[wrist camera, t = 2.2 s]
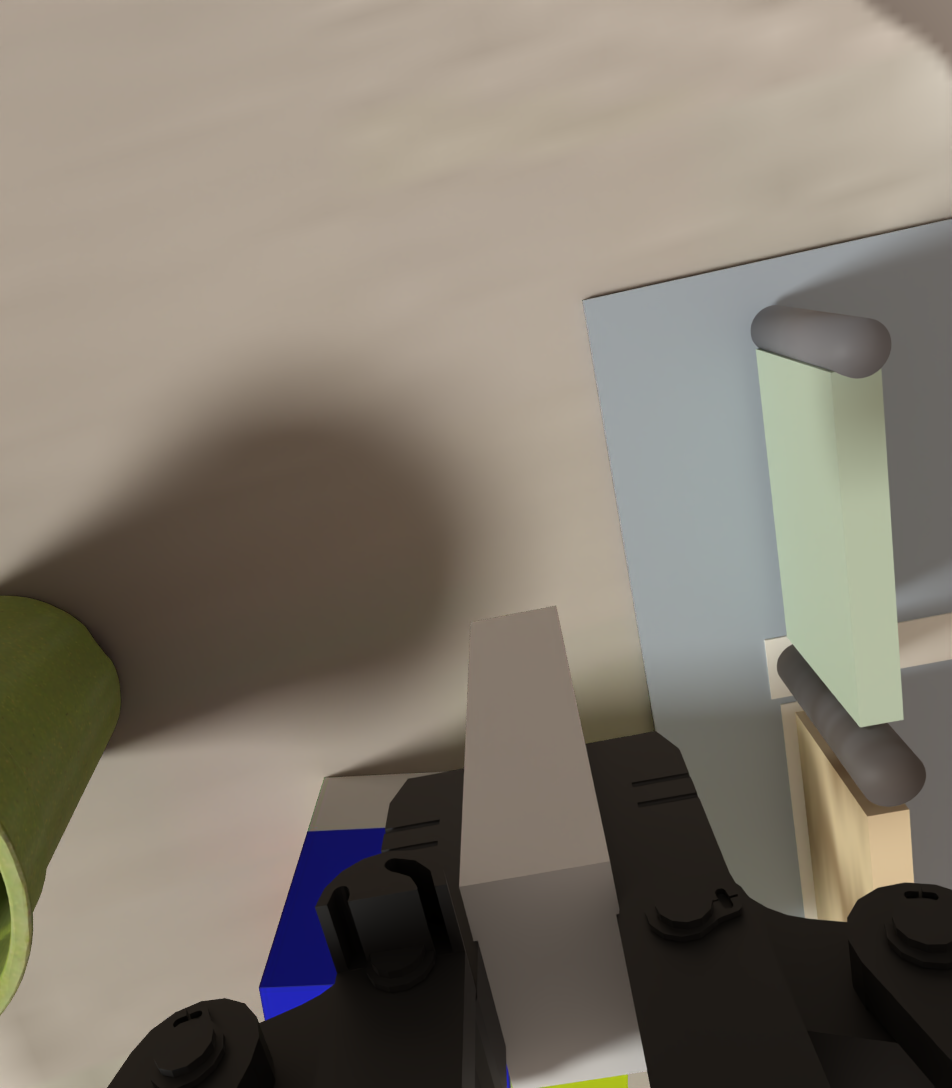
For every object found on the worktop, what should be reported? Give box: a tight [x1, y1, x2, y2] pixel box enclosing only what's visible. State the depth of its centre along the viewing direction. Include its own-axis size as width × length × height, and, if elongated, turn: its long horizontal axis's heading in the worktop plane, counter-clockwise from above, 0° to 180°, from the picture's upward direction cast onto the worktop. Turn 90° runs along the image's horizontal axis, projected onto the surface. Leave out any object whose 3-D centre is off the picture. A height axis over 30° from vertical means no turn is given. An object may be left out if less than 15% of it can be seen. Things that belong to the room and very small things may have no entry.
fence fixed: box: [777, 644, 926, 922], centre depth 29 cm, size 15×2×8 cm, turn 12°
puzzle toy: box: [259, 771, 628, 1088], centre depth 29 cm, size 10×10×10 cm
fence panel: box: [751, 305, 904, 727], centre depth 25 cm, size 11×1×6 cm, turn 12°
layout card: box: [582, 219, 952, 919], centre depth 30 cm, size 28×18×1 cm, turn 12°
